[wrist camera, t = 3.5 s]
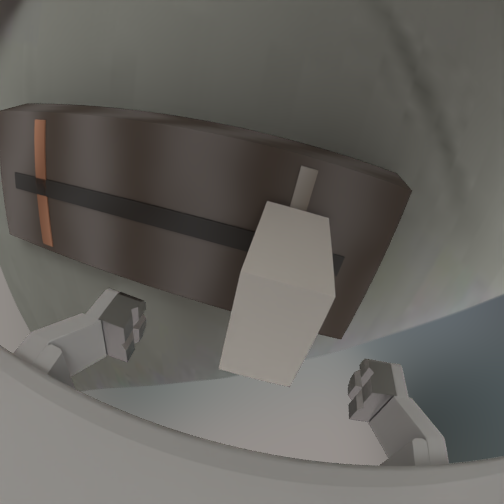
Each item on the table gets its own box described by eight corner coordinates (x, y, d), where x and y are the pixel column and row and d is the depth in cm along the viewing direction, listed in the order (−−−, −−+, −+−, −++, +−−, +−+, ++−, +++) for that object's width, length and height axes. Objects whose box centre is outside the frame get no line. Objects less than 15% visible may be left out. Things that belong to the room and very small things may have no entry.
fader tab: (329, 218, 15) (335, 297, 9) (299, 298, 17) (289, 387, 12) (267, 200, 15) (240, 270, 10) (246, 284, 17) (218, 369, 12)
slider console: (396, 173, 16) (412, 191, 13) (339, 308, 21) (341, 340, 18) (27, 103, 17) (-3, 111, 14) (32, 218, 22) (9, 234, 20)
